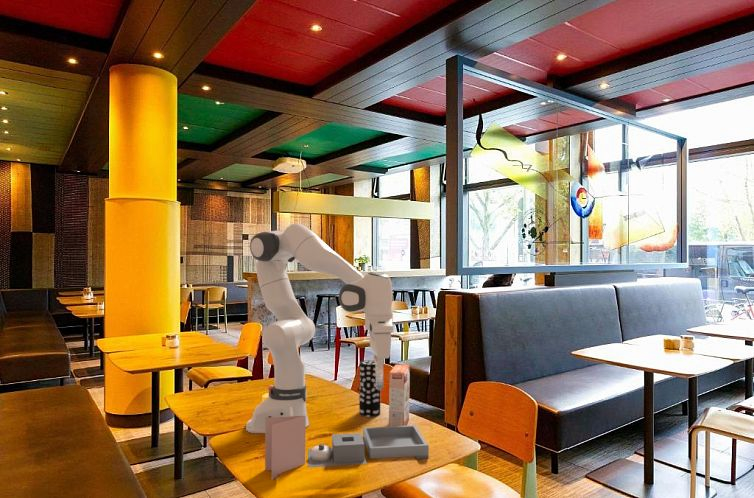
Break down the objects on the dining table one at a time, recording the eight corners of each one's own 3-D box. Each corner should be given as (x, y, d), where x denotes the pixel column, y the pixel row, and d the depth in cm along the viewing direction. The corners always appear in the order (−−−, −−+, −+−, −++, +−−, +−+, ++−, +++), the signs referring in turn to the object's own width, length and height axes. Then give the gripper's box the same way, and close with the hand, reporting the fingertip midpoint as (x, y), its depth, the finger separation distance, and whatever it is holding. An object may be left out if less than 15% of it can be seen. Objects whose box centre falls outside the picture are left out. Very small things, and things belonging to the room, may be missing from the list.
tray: (370, 461, 144) (370, 448, 144) (363, 439, 162) (363, 427, 162) (428, 458, 147) (428, 445, 147) (415, 436, 165) (415, 425, 165)
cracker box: (405, 432, 169) (405, 372, 169) (388, 431, 170) (388, 372, 170) (410, 419, 182) (410, 364, 183) (394, 418, 184) (394, 363, 184)
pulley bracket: (308, 470, 138) (308, 449, 138) (307, 452, 151) (308, 433, 151) (366, 467, 140) (366, 446, 141) (361, 449, 153) (361, 430, 153)
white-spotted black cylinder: (361, 409, 194) (361, 360, 195) (381, 410, 193) (381, 360, 194) (357, 416, 186) (357, 364, 186) (378, 417, 185) (379, 365, 185)
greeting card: (305, 466, 141) (305, 414, 141) (305, 477, 134) (306, 423, 134) (265, 468, 139) (265, 416, 140) (263, 480, 132) (264, 425, 132)
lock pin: (374, 390, 150) (374, 358, 150) (373, 387, 153) (372, 355, 153) (385, 389, 150) (385, 357, 150) (384, 386, 154) (384, 355, 154)
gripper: (365, 319, 162) (365, 361, 162) (373, 328, 142) (373, 375, 141) (384, 319, 163) (384, 360, 163) (394, 327, 143) (394, 374, 142)
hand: (379, 367), depth 152 cm, fingers closed on lock pin, 2 cm apart
